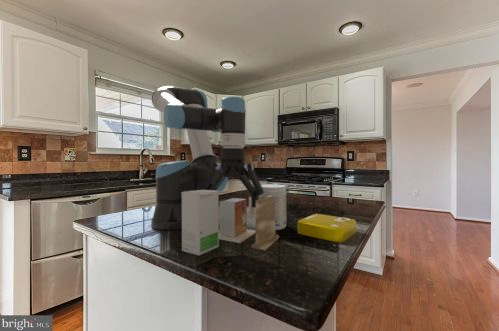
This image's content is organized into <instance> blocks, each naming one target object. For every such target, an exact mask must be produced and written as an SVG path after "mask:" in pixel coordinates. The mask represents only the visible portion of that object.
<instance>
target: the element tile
mask: <svg viewBox="0 0 499 331" xmlns="http://www.w3.org/2000/svg"><path fill="white" fill-rule="evenodd" d="M356 233H357V221H356V219H355V218H354V219H353V218H348V217H343V216H342V217H341V216H334V215H330V214H329V215H328V214H321V213H315V214H311V215H309V216H306V217H303V218H301V219H299V220H298V221H297V234H299V235H303V236H307V237H311V238H315V239H319V240H320V239H321V240H325V241H329V242H334V243H344V242H346V241H347V240H348V239H350V238H352V236H353V235H355V234H356Z"/></svg>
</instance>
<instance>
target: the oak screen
mask: <svg viewBox="0 0 499 331" xmlns="http://www.w3.org/2000/svg"><path fill="white" fill-rule="evenodd" d="M255 231H256V233H255V242H253V243H252V244H251V247H250V248H251V249H256V250H262V251H266V250H268V248H270V247H271V246H272V245H273V244H275V242H276V241H278V239H279V238H280V234H279V235H278V234H276V230H275V195H269V196H266V197H264V198H261V199H259V198H258V200H256V207H255Z"/></svg>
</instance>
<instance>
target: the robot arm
mask: <svg viewBox="0 0 499 331" xmlns="http://www.w3.org/2000/svg"><path fill="white" fill-rule="evenodd" d="M151 103H152V105H153V107H154V108H155V109H156V110H157V111H158V112H160V113H163V122H164V125H165V127H166V128H169V129H175V130H186V133H187V137H188V141H189V147H190V152H191V156H192V160H191V162H190V160H184V159H183V160H175V161H169V162H164V163H159V164H158V165H157V166H156V168H155V185H156V186H155V191H156V193H155V195H156V197H155V198H156V199H155V201H156V202H155V203H156V205H155V208H154V212H153V216H152V218H151V221H150V225H151V228H153V229H155V230H162V231H171V230H172V231H174V230H182V194H181V193H182V192H186V191H196V190H215V191H218V193H221V192H223V191H224V190H225V188H226V187H227V183H228V180H229V178H232V179H233V178H234V179H236V178H237V179H238V180H240V182H241V183H242V185H243V187H245V189H246V190H247V191H248V193H249V194H250V196H249V197H248V219H250V220H251V219H253V218H256V200H258V199H259V195H261V194H263V193H264V191H263V189H262V187H261V185H262V184H261V182H260V179H259V177H258V176H257V173H256V170H255V164H254V163H247V164H246V163H245V161H246V160H245V159H246V149H245V148H244V147H246V115H247V114H246V113H247V112H246V111H247V110H246V101H245V99H244V98H242V97H239V96H226V97H223V98H222V99H221V103H220V108H211V107H208V98H207V95H206V93H205V92H204V91H201V90H198V89H192V88H185V87H180V86H179V87H178V86H173V85H171V86H170V85H166V86H162V87H158V88H157V89H155V90H154V91H153V93H152V95H151ZM209 131H210V132H213V133H220V140H221V141H220V146H221V147H222V148H221V149H220V159H221V163H220V159H219V157H218V156H217V155H215V154H214V151H213V148H212V144H211V139H210V137H209V133H208V132H209ZM245 171H247V173H248V176H249V178H250V180H249V178H248V176H247V174H246V173H245ZM251 182H252V183H251Z"/></svg>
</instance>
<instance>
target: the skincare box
mask: <svg viewBox="0 0 499 331" xmlns="http://www.w3.org/2000/svg"><path fill="white" fill-rule="evenodd" d="M181 194H182V229H181V252H184V253H188V254H190V255H194V256H201V255H204V254H206V253H208V252H210V251H212V250H215V249H217V248H219V246H220V239H219V230H220V201H219V192H218V191H215V190H196V191H186V192H182V193H181Z"/></svg>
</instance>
